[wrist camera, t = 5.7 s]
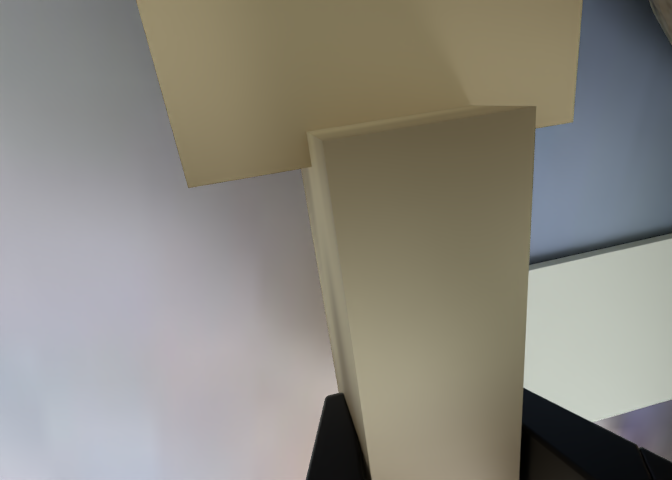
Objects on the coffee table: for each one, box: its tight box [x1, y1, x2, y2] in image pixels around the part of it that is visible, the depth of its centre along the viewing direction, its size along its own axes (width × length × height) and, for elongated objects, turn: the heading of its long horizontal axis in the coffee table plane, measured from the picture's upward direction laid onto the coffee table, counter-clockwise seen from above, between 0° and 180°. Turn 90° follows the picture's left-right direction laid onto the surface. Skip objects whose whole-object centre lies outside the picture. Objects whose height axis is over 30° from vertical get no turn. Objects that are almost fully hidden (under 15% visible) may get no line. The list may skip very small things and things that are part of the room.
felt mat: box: [523, 233, 672, 422], centre depth 17 cm, size 14×9×1 cm, turn 98°
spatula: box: [136, 0, 583, 480], centre depth 7 cm, size 20×6×4 cm, turn 8°
